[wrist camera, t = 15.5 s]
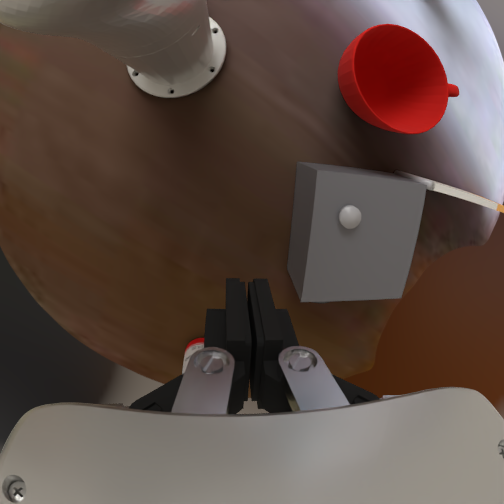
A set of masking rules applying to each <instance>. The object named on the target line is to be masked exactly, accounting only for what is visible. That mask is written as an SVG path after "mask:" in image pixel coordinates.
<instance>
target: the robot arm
mask: <svg viewBox="0 0 504 504" xmlns="http://www.w3.org/2000/svg"><path fill="white" fill-rule="evenodd" d="M0 23H2V24H4V25H6V26H9V27H12V28H15V29H18V30H22V31H26V32H30V33H35V34H42V35H51V36H63V37H74V38H78V39H82V40H84V41H87V42H89V43H91V44H93V45H95V46H97V47H98V48H100V49H102V50H103V51H105V52H106V53H108V54H110V55H111V56H113V57H115V58H116V59H118V60H120V61H121V62H123V63H124V64H126V65H127V69H128V73H129V75H130V77H131V79H132V80H133V81H134V83H135V84H136V85H137V86H138V87H139V88H141V89H142V90H143V91H145V92H147V93H149V94H151V95H154V96H157V97H162V98H178V97H184V96H187V95H190V94H193V93H195V92H197V91H199V90H201V89H202V88H204V87H205V86H206V85H208V84H209V83H210V82H211V81H212V80H213V79H214V78H215V77H216V76H217V74H218V73H219V71H220V70H221V68H222V65H223V63H224V61H225V56H226V40H225V36H224V34H223V31H222V29H221V28H220V26H219V25H218V24H217V23H216V22H215V21H214V20H213V19H212V18H211V17H209V14H208V8H207V1H206V0H0ZM215 31H216V32H217V33H216V34H214V33H213V32H215ZM211 69H214V72H210V70H211ZM137 73H139V74H138V76H136V74H137ZM172 90H174V93H173V94H171V91H172ZM249 380H250V389H251V399H252V401H257V405H258V409H265V410H266V411H268V412H269V413H263V414H236V413H238V412H239V411H240V410H241V409H242V408H243V404H244V401H247V400H248V388H249ZM0 504H504V420H503V418H502V417H501V415H500V414H499V413H498V412H497V410H496V409H495V408H494V407H493V405H492V404H491V403H490V402H489V401H488V400H487V399H486V398H485V397H484V396H483V395H482V394H480V393H479V392H477V391H475V390H472V389H468V388H459V387H444V388H443V387H442V388H435V389H429V390H424V391H419V392H415V393H409V394H404V395H396V396H395V395H393V396H391V395H387V396H382V398H381V399H379V398H378V397H377V396H376V395H374V394H373V393H371V392H368V391H366V390H364V389H362V388H360V387H358V386H356V385H353V384H351V383H349V382H347V381H345V380H343V379H341V378H339V377H336V376H334V375H332V374H331V373H330V371H329V369H328V368H327V366H326V365H325V363H324V361H323V360H322V358H321V357H320V355H319V354H318V353H317V352H316V351H314V350H313V349H310V348H308V347H303V346H299V344H298V341H297V338H296V335H295V332H294V329H293V326H292V323H291V319H290V316H289V313H288V311H287V309H275V306H274V302H273V299H272V295H271V291H270V287H269V284H268V280H267V279H253V282H249V283H248V297H247V298H246V290H245V282H240V280H239V278H226V309H207V313H206V324H205V336H204V348H202V349H200V350H197V351H196V352H194V353H193V354H192V355H191V357H190V359H189V362H188V364H187V367H186V370H185V373H183V374H182V375H180V376H178V377H177V378H175V379H173V380H171V381H170V382H168V383H166V384H164V385H163V386H161V387H159V388H158V389H156V390H154V391H152V392H150V393H149V394H147V395H145V396H143V397H141V398H140V399H138V400H136V401H135V402H134V403H132V404H131V406H127V407H126V406H125V407H124V406H123V404H87V403H56V404H47V405H43V406H39V407H36V408H34V409H31V410H30V411H28V412H27V413H26V414H25V415H24V416H23V417H22V418H21V419H20V420H19V421H18V423H17V424H16V426H15V427H14V429H13V430H12V432H11V434H10V435H9V437H8V439H7V441H6V443H5V445H4V447H3V450H2V452H1V454H0Z"/></svg>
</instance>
